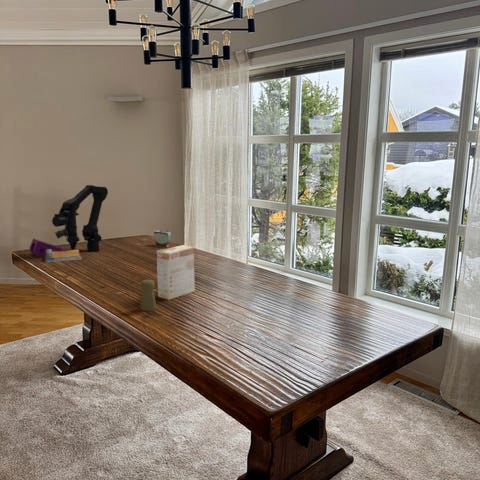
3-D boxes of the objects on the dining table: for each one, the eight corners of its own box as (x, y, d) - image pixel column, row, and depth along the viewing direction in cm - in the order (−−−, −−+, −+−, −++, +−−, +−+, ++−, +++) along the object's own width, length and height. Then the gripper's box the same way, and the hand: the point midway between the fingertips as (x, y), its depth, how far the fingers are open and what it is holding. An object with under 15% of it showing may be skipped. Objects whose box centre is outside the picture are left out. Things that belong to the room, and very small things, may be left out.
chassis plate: (78, 254, 253) (78, 251, 253) (81, 259, 240) (81, 257, 240) (44, 257, 245) (44, 254, 245) (45, 262, 233) (45, 260, 232)
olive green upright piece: (157, 305, 169) (156, 278, 167) (155, 310, 163) (154, 282, 161) (141, 305, 169) (140, 278, 167) (138, 310, 163) (137, 282, 161)
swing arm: (78, 255, 245) (78, 246, 244) (79, 256, 242) (78, 247, 241) (46, 258, 238) (45, 249, 237) (46, 259, 235) (45, 250, 234)
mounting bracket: (57, 261, 260) (27, 252, 248) (63, 248, 261) (33, 238, 249) (63, 264, 253) (32, 255, 241) (68, 251, 254) (38, 241, 242)
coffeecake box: (183, 288, 191) (183, 244, 187) (195, 291, 187) (194, 246, 183) (157, 296, 180) (155, 250, 176) (168, 300, 175) (167, 252, 172)
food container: (175, 246, 276) (174, 231, 274) (168, 248, 271) (168, 232, 269) (160, 244, 282) (160, 229, 280) (153, 246, 277) (153, 230, 275)
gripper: (54, 222, 249) (56, 249, 252) (56, 227, 233) (58, 256, 236) (75, 221, 254) (76, 247, 257) (78, 226, 237) (80, 254, 240)
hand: (72, 251), depth 247 cm, fingers closed
